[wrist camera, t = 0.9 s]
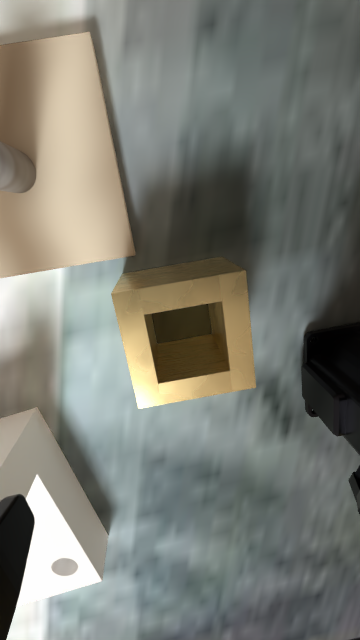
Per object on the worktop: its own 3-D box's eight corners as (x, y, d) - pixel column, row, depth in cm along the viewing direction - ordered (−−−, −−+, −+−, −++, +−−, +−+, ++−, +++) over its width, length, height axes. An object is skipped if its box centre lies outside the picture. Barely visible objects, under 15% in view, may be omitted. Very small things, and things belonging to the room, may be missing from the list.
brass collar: (222, 256, 18) (246, 270, 13) (232, 347, 20) (255, 387, 15) (122, 273, 18) (111, 293, 13) (142, 363, 20) (138, 408, 15)
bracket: (-60, 435, 21) (-170, 549, 14) (38, 404, 21) (-22, 502, 14) (27, 556, 25) (-23, 692, 18) (108, 532, 25) (91, 658, 18)
